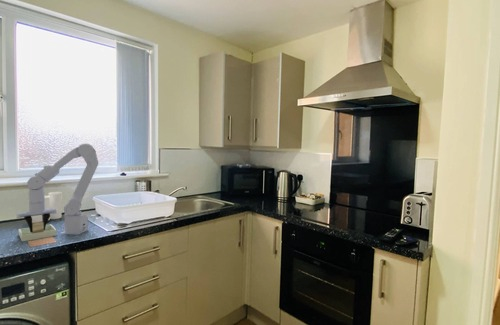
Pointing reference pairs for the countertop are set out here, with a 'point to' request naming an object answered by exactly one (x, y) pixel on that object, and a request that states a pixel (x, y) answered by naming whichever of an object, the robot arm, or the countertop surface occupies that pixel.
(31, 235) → the pale green bin
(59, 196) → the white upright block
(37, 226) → the birch block
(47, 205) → the cup
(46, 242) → the terracotta tile
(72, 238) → the countertop surface
